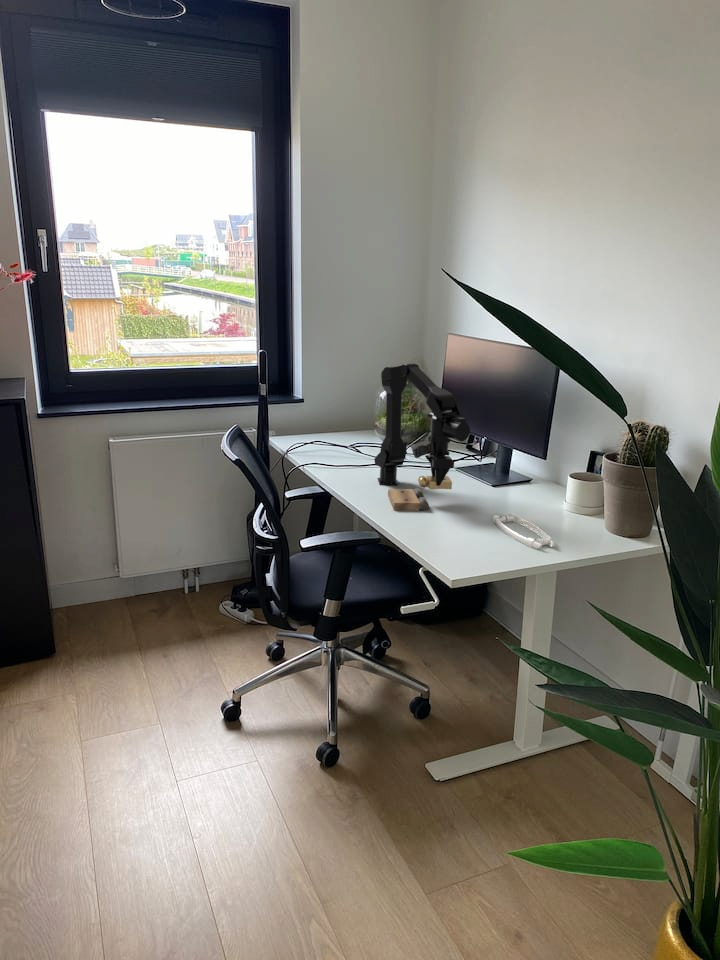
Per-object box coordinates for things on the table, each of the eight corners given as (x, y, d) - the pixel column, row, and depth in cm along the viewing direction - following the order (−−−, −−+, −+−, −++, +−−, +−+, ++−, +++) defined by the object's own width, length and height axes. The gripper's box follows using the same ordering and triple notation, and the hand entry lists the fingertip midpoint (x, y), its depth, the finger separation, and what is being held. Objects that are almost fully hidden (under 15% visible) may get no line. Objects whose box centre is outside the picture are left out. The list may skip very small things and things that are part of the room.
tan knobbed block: (447, 483, 231) (448, 475, 230) (451, 489, 225) (452, 480, 224) (416, 482, 230) (417, 474, 229) (420, 488, 224) (420, 480, 223)
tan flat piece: (393, 510, 221) (394, 501, 220) (387, 495, 234) (388, 487, 233) (428, 510, 222) (429, 501, 221) (420, 496, 235) (421, 488, 234)
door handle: (530, 553, 194) (485, 521, 216) (562, 550, 197) (514, 518, 219) (531, 544, 193) (486, 512, 215) (563, 540, 196) (514, 510, 218)
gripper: (409, 426, 231) (406, 473, 235) (419, 440, 213) (415, 491, 217) (443, 427, 232) (439, 474, 236) (456, 441, 214) (452, 491, 218)
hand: (436, 482), depth 227 cm, fingers closed on tan knobbed block, 6 cm apart
